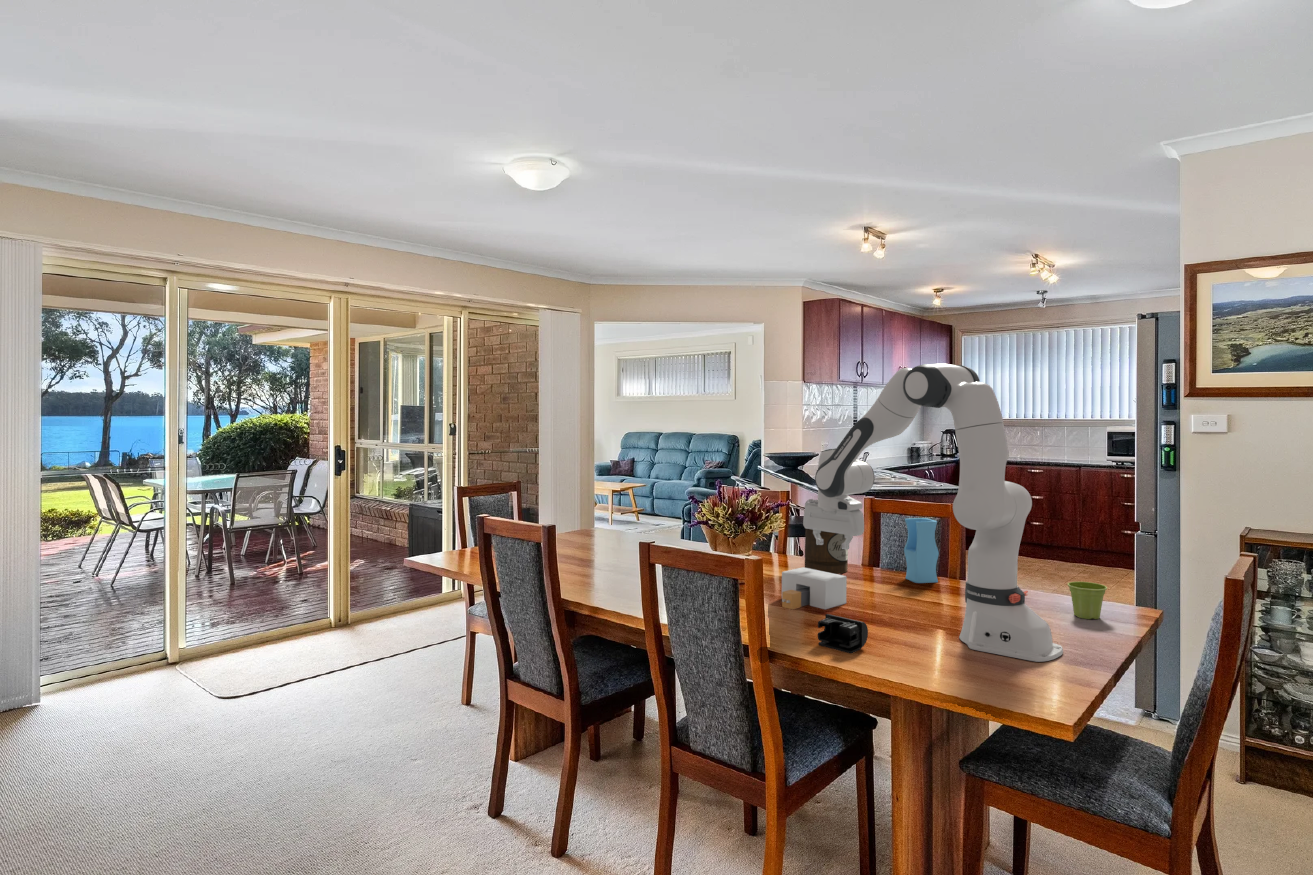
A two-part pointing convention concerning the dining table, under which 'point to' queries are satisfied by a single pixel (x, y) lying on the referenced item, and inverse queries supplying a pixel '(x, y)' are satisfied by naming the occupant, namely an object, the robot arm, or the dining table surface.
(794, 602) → the square rod
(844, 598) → the block
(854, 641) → the end cap
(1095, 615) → the plant pot
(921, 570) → the vase
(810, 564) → the wooden container
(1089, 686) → the dining table surface
